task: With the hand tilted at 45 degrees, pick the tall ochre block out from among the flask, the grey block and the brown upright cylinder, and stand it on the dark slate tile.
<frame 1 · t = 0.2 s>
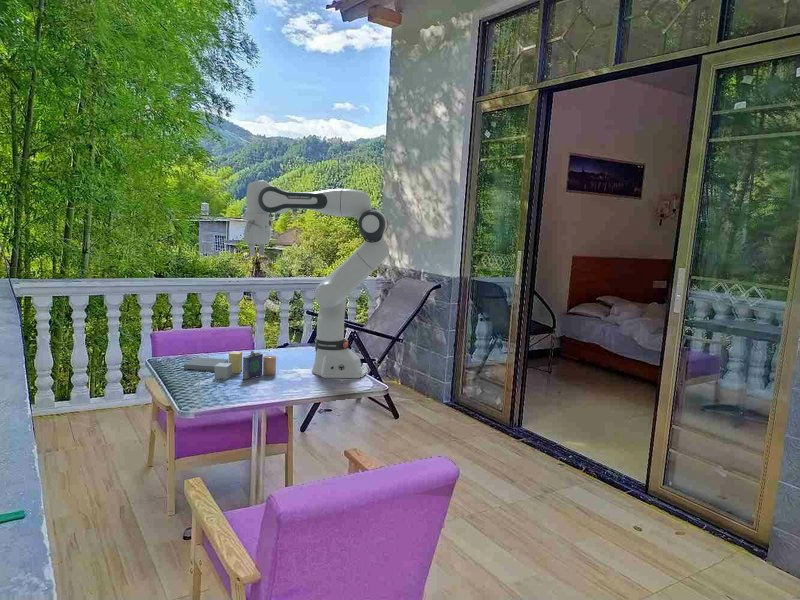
hand: (257, 255, 226), 47 cm above the table, tool pointing down, fingers open, 8 cm apart
flask: (252, 377, 218), on the table
ochre block: (235, 371, 225), on the table
brown upright cylinder: (269, 373, 224), on the table
slate tile: (206, 366, 230), on the table
grey block: (223, 377, 217), on the table
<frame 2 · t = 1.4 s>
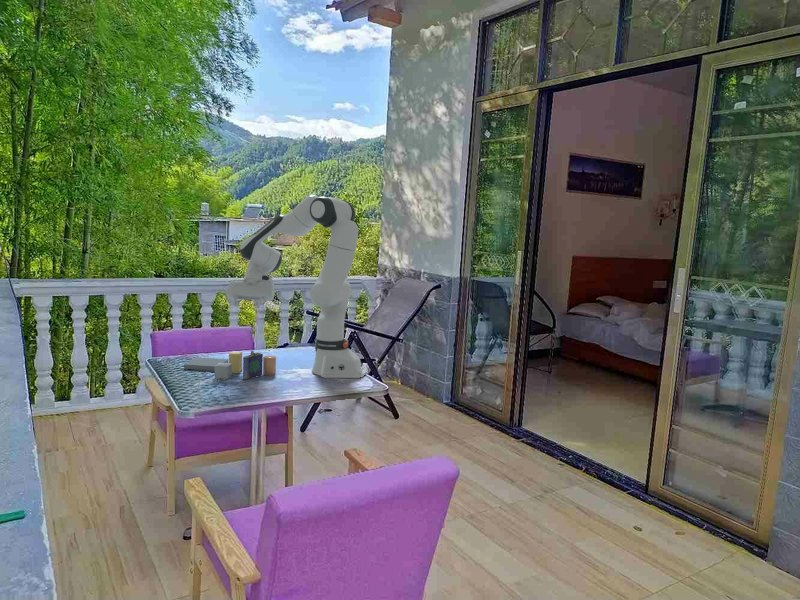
hand: (246, 306, 234), 25 cm above the table, tool tilted 45°, fingers open, 8 cm apart
nothing on the table moved.
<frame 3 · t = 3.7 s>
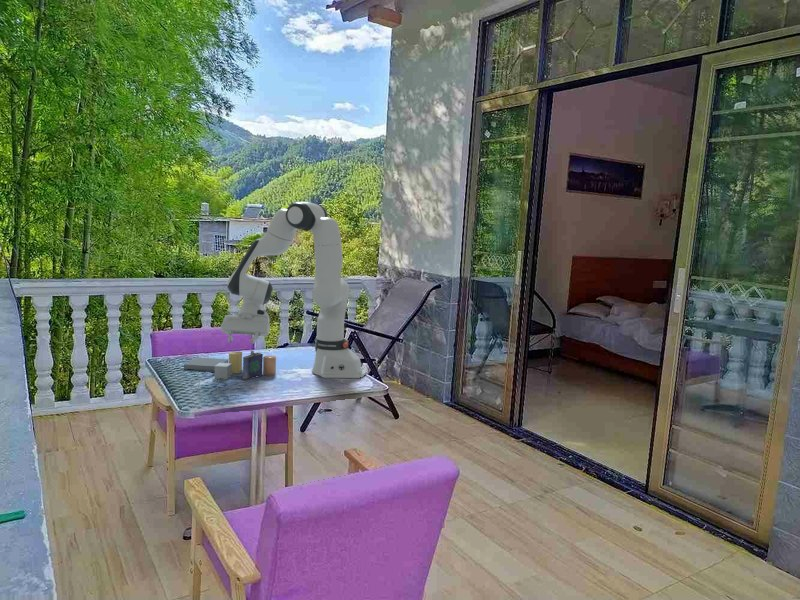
hand: (241, 342, 230), 11 cm above the table, tool tilted 45°, fingers open, 8 cm apart
nothing on the table moved.
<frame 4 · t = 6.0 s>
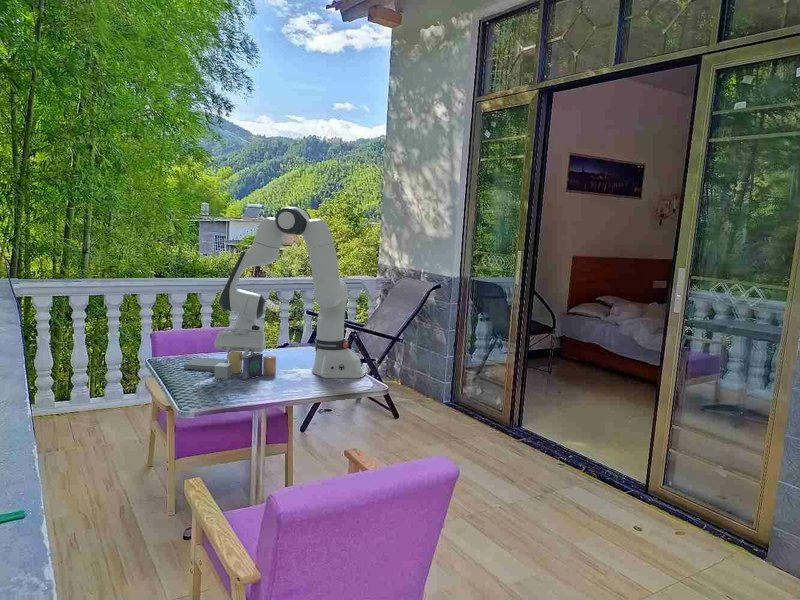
hand: (235, 358, 224), 5 cm above the table, tool tilted 45°, fingers closed on ochre block, 4 cm apart
ochre block: (235, 371, 225), on the table, touching gripper
everything else where it was.
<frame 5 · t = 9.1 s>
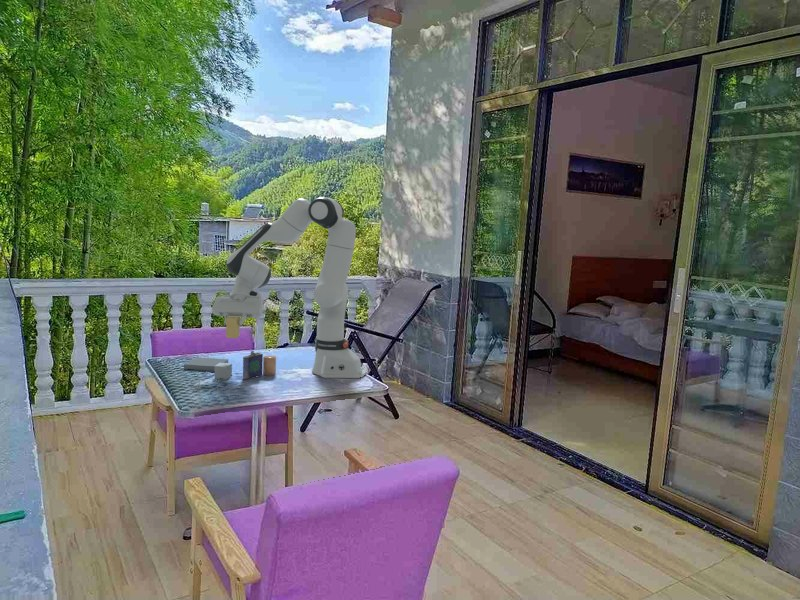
hand: (232, 323, 222), 20 cm above the table, tool tilted 45°, fingers closed on ochre block, 4 cm apart
ochre block: (232, 337, 223), point 14 cm above the table, touching gripper
everything else where it was.
when the fingers open (8 cm above the table, at t = 12.4 s): ochre block stays where it is, resting on slate tile.
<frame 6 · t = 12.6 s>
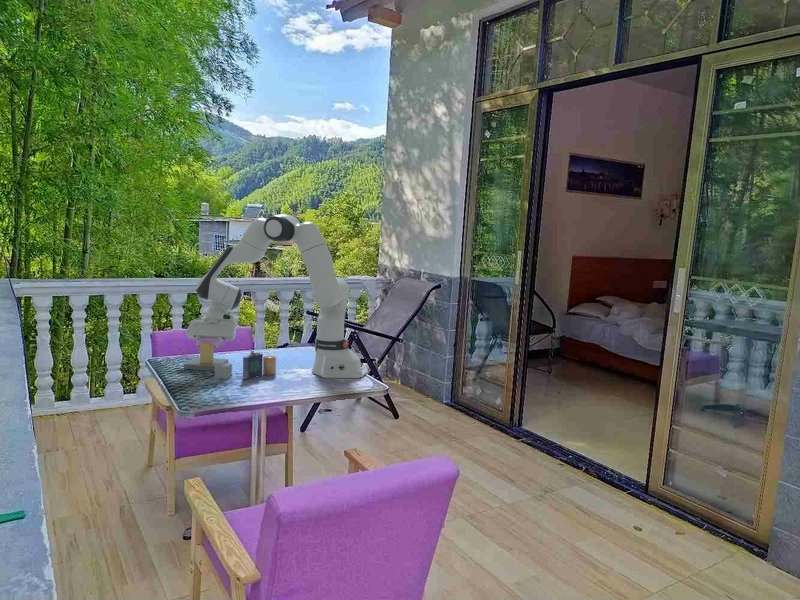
hand: (206, 347, 229), 8 cm above the table, tool tilted 45°, fingers open, 6 cm apart
ochre block: (206, 361, 230), point 2 cm above the table, touching slate tile
everything else where it was.
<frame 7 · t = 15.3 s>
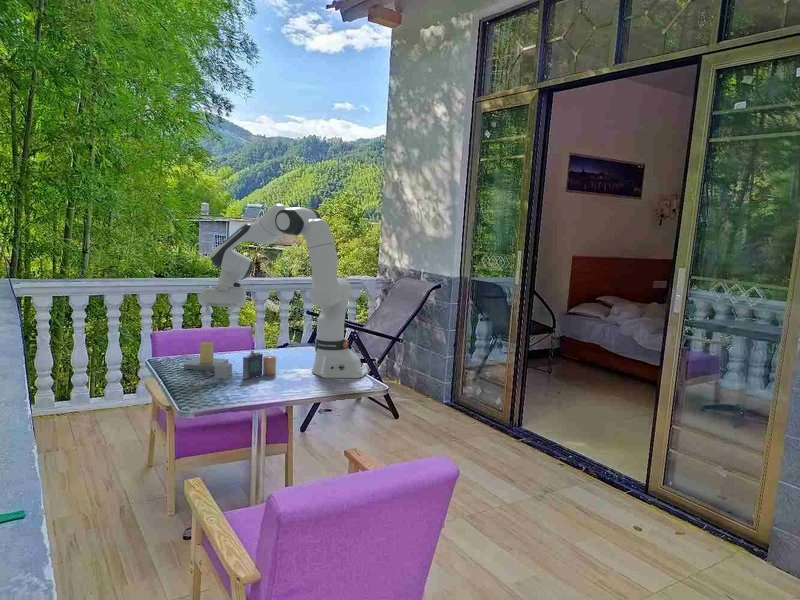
hand: (217, 312, 239), 21 cm above the table, tool tilted 45°, fingers open, 8 cm apart
nothing on the table moved.
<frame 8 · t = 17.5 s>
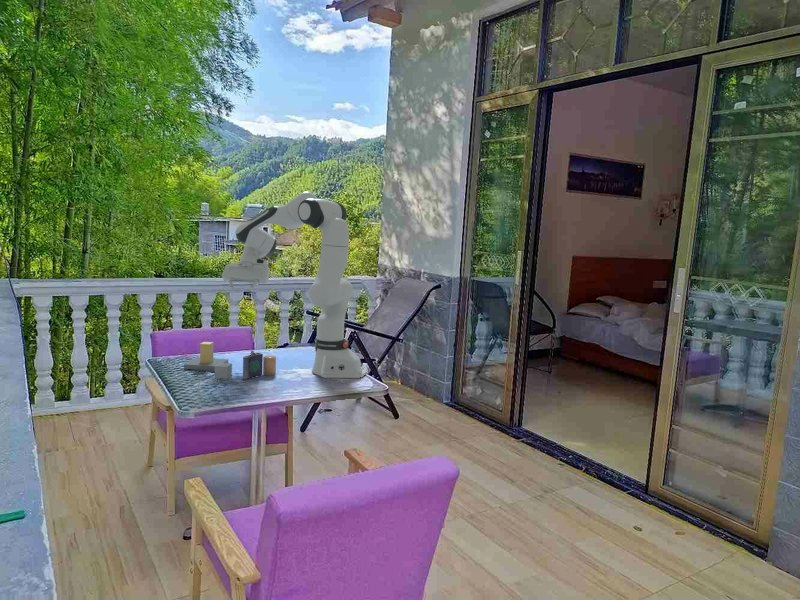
hand: (241, 288, 242), 31 cm above the table, tool tilted 45°, fingers open, 8 cm apart
nothing on the table moved.
at the end: ochre block inside the target area on the slate tile (0.1 cm from its centre), point 2.0 cm above the slate tile's base; ochre block tilted 0°; the gripper is holding nothing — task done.
